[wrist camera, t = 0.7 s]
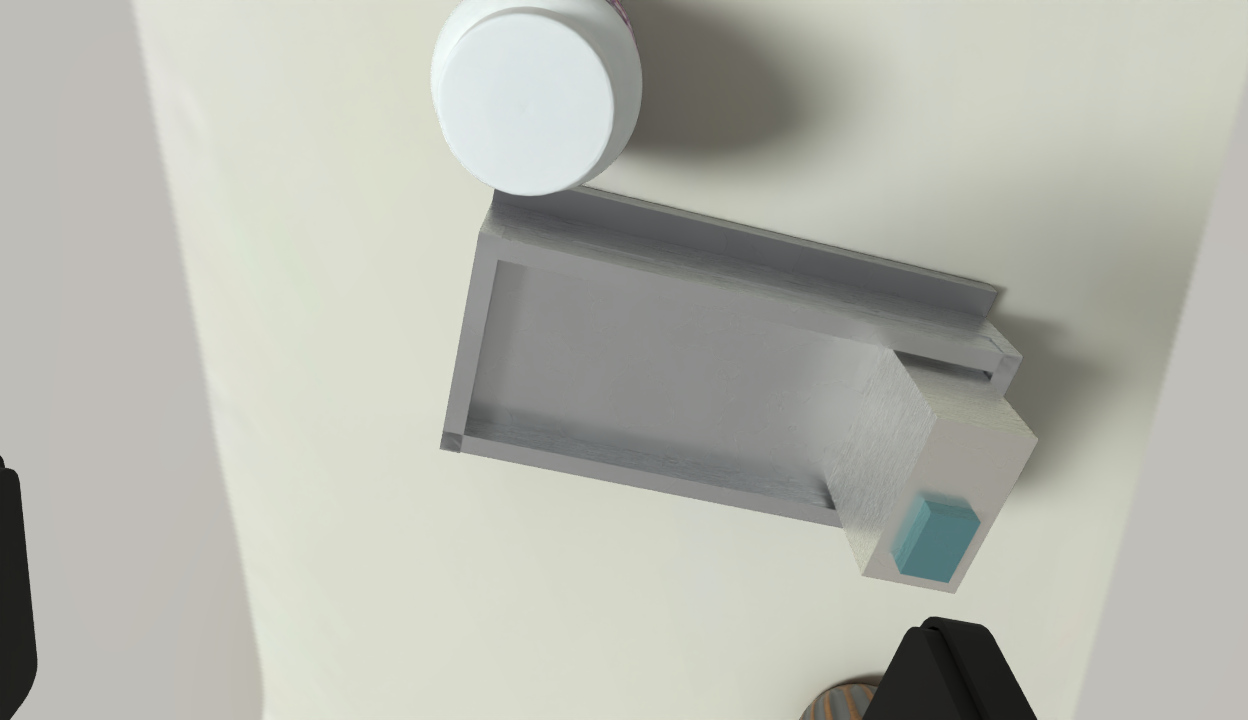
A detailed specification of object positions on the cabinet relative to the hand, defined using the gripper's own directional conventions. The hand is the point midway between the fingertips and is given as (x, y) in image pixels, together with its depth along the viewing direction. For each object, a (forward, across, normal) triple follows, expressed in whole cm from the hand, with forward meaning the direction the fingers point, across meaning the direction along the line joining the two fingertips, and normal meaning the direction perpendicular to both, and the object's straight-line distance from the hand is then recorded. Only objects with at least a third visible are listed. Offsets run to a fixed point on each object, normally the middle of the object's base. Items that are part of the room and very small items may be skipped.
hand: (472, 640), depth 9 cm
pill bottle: (+22, +1, -3) cm, 23 cm away
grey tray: (+22, -7, +6) cm, 24 cm away
